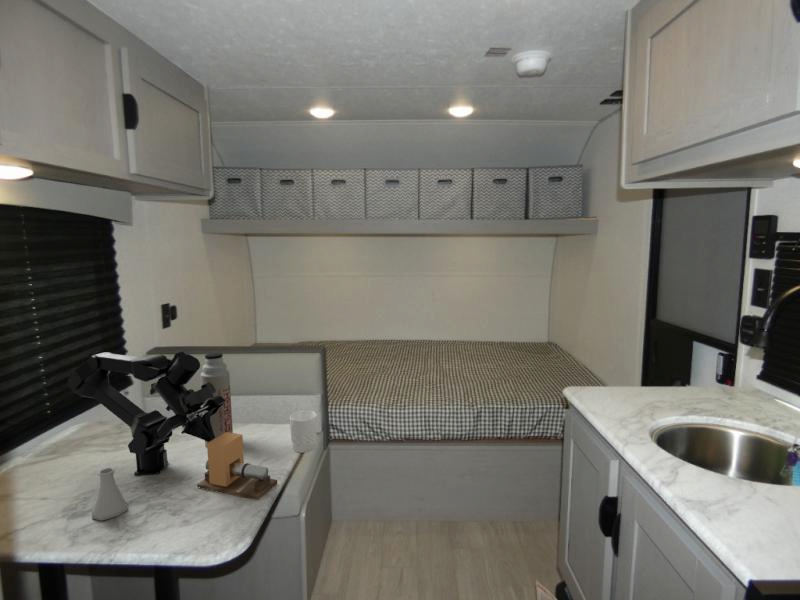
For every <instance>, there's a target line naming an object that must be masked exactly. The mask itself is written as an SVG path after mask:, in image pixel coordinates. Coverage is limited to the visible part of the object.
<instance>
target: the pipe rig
mask: <svg viewBox="0 0 800 600" xmlns="http://www.w3.org/2000/svg"><path fill="white" fill-rule="evenodd" d="M205 469H206V470H207V471H206V472H204V479H203V480H201V481H200V482H198V483H197V484H196V487H200V488H204V489H203V490H205V489H208V490H207V491H210V490H213V491H212V492H215V491H217V492H216V493H220V492H221V493H220V494H225V493H226V495H230V496H236V497H240V498H245V499H251V500H256V501H259V500H261V498H262V497H264V496H265V495H266V494H267V493H269V492H270V491H271V490H272V489H273V488H274V487H276V485H278V479H275V478H271V475H269V473H270V471H269V468H268V467H266V466H262V465H261V466H260V465H255V464H254V465H253V464H251V463H248V462H247V463H245V462H244V463H238V462H232V463H231V464H229V469H230V474H232V475H237V476H240V477H239V478H237V479H236V480H235V481H233V482H232V483H231V484H229V485H228V486H227V487H225V486H220V485H215V484H210V481H209V466H208V459H207V460H206V463H205ZM200 488H199V489H200Z"/></svg>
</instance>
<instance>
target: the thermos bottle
mask: <svg viewBox="0 0 800 600" xmlns="http://www.w3.org/2000/svg"><path fill="white" fill-rule="evenodd" d="M204 359H205V364H204V365H203V366H202V372H201V373H200V384H201V385H200V387H201V386H202V385H204V384H206V383H208V382H210V383H211V384H212V385H213V386H214V387H215V390H216V392H215V393H213V395H214V397H216V396H222V397H223V399H224V400H225V401H226V402H225V403H224V405H223V406H222V407H221V408H220V409H219V410H218V411H217V413H215V414H214V415H212V416H211V417H210V422H211V426H212V429H213V432H214V435H215V438H217V437H219V436H220V435H222V434H224V433H226V432H229V433H234V429H233V428H234V427H233V426H234V425H233V412H232V398H231V397H232V395H231V392H232V391H231V380H230V379H231V376H230V370H228V369H227V368H228V366H227V363H226V362H224V358H223V353H222V352H212V353H211V352H210V353H207V354H205V355H204ZM214 397H213V398H214ZM209 399H212V398H209ZM209 399H207V400H206V401H205V403H204V404H203V405H202V407H203V406H204V405H205V404H206V403H207V401H208V400H209ZM207 443H208V442H207V441H205V440H204V444H205V445H204V446H205V448H206V449H207Z"/></svg>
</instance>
